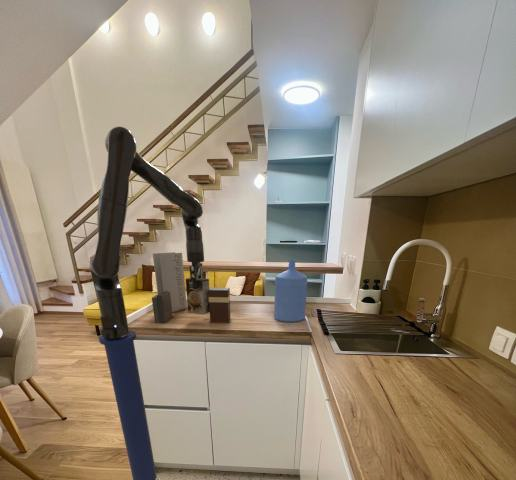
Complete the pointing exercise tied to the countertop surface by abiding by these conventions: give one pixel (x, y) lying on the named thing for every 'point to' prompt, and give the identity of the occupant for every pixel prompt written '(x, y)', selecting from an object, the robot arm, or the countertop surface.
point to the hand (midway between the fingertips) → (197, 287)
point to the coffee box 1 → (198, 296)
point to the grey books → (162, 307)
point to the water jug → (290, 295)
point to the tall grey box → (171, 278)
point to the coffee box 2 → (219, 304)
